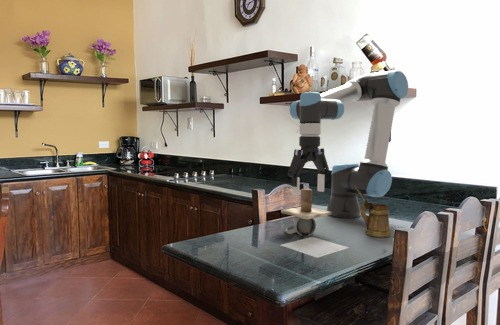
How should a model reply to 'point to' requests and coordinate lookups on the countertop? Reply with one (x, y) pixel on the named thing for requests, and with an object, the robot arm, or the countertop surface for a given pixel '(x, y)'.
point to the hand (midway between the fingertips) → (308, 193)
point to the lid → (306, 207)
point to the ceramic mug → (302, 226)
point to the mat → (314, 247)
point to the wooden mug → (375, 218)
